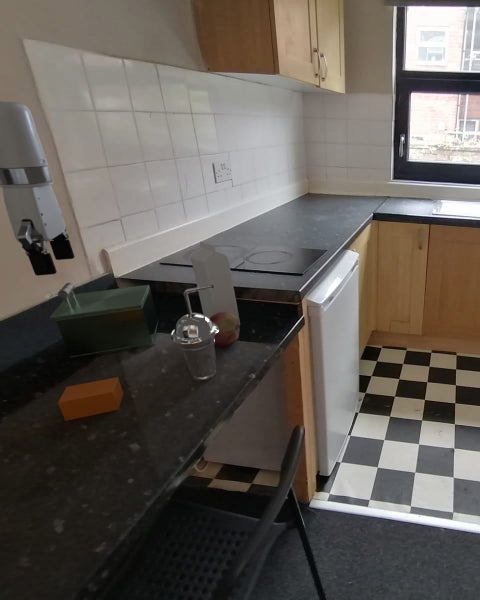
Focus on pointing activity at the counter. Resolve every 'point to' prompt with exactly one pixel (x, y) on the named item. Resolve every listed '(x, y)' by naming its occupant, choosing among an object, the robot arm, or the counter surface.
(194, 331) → the cup with straw
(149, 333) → the dark green storage bin
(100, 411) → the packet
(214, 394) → the counter surface
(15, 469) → the counter surface
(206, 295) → the milk
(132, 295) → the bin lid
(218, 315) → the fruit
